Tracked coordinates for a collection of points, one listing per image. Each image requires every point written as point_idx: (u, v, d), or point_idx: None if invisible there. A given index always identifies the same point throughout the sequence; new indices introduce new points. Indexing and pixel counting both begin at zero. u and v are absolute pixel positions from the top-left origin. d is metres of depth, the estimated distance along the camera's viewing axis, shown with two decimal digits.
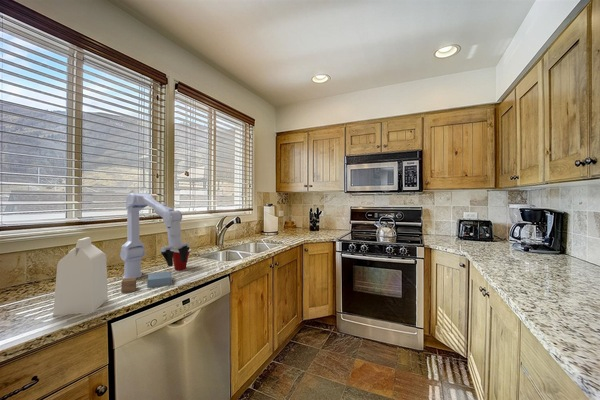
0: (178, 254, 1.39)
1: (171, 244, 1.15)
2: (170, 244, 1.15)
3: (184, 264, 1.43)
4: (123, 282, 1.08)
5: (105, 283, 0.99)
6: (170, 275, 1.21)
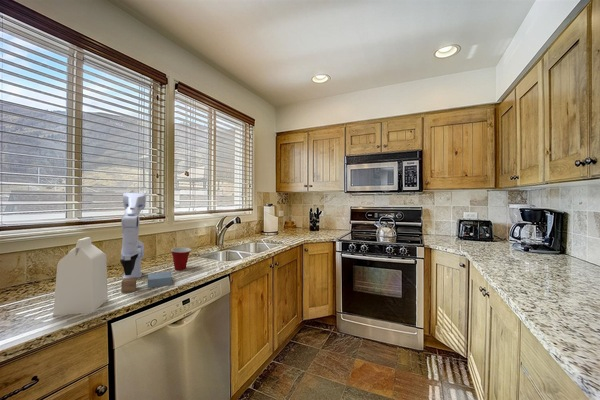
0: (178, 254, 1.39)
1: (130, 252, 1.08)
2: (129, 252, 1.08)
3: (184, 264, 1.43)
4: (123, 282, 1.08)
5: (105, 283, 0.99)
6: (170, 275, 1.21)
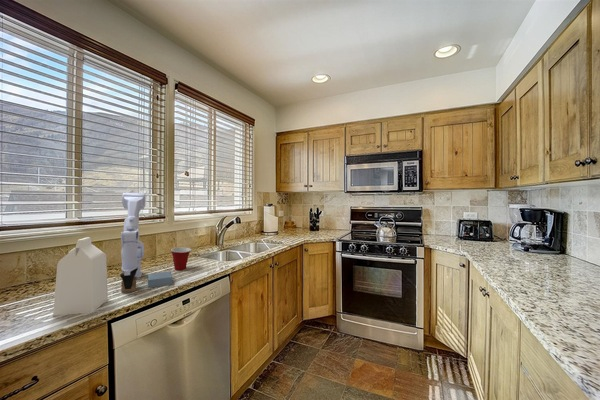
0: (178, 254, 1.39)
1: (130, 266, 1.08)
2: (129, 266, 1.08)
3: (184, 264, 1.43)
4: (123, 282, 1.08)
5: (105, 283, 0.99)
6: (170, 275, 1.21)
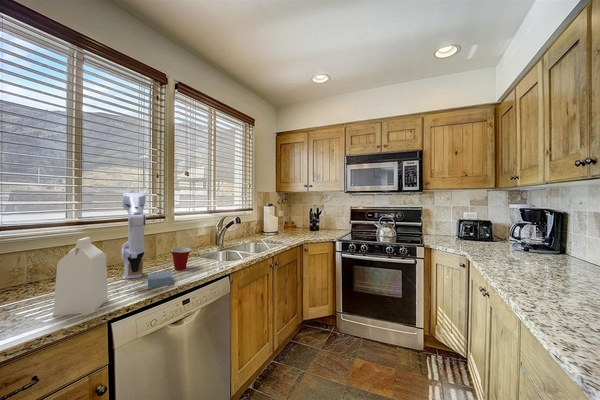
0: (178, 254, 1.39)
1: (137, 250, 1.10)
2: (135, 250, 1.10)
3: (184, 264, 1.43)
4: (130, 265, 1.09)
5: (105, 283, 0.99)
6: (170, 275, 1.22)
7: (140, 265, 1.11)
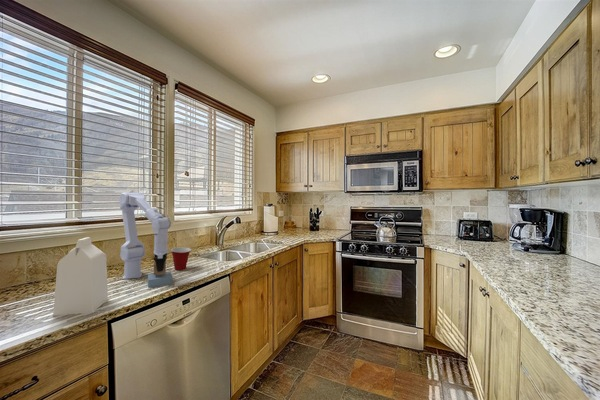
0: (178, 254, 1.39)
1: (162, 251, 1.19)
2: (160, 251, 1.18)
3: (184, 264, 1.43)
4: (155, 265, 1.18)
5: (105, 283, 0.99)
6: (170, 275, 1.22)
7: (164, 265, 1.19)
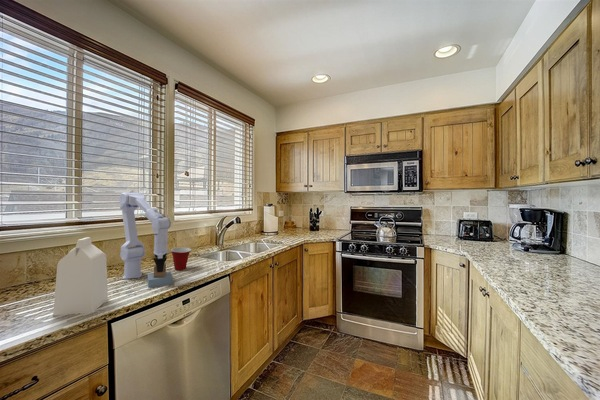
0: (178, 254, 1.39)
1: (162, 251, 1.19)
2: (160, 251, 1.18)
3: (184, 264, 1.43)
4: (155, 268, 1.17)
5: (105, 283, 0.99)
6: (170, 275, 1.22)
7: (164, 268, 1.19)
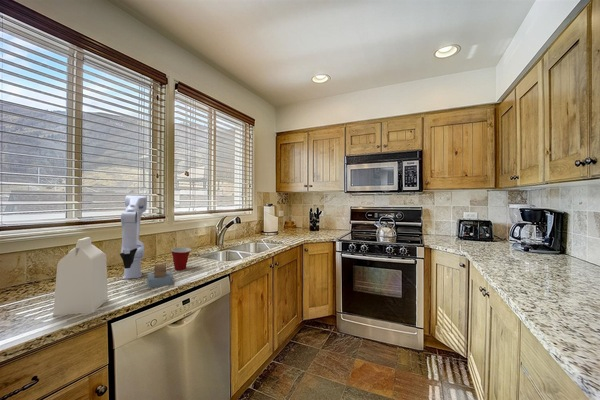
0: (178, 254, 1.39)
1: (130, 246, 1.13)
2: (128, 246, 1.13)
3: (184, 264, 1.43)
4: (156, 268, 1.17)
5: (105, 283, 0.99)
6: (170, 275, 1.22)
7: (165, 268, 1.19)
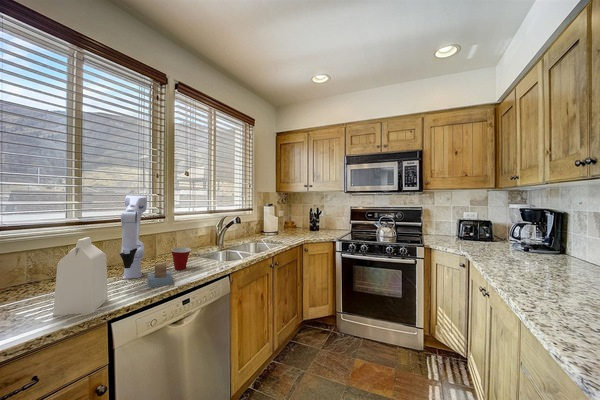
0: (178, 254, 1.39)
1: (130, 246, 1.13)
2: (128, 246, 1.13)
3: (184, 264, 1.43)
4: (156, 268, 1.18)
5: (105, 283, 0.99)
6: (170, 275, 1.22)
7: (165, 268, 1.19)
